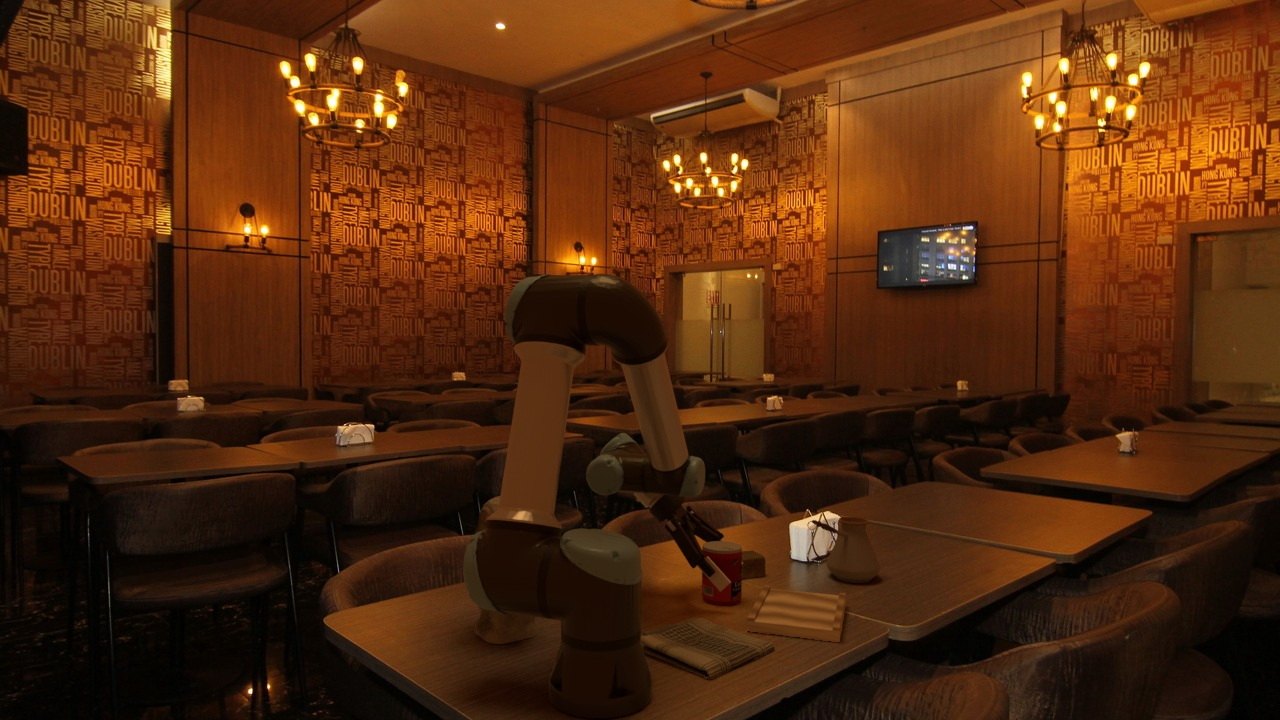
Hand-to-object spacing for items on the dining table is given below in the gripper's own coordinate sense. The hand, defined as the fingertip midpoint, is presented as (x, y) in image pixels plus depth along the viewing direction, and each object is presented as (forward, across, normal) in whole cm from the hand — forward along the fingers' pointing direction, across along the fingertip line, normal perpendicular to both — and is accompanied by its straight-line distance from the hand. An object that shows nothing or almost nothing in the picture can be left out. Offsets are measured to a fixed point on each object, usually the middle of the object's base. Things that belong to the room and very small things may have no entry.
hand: (732, 577), depth 157 cm
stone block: (+2, -18, -5) cm, 18 cm away
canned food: (+2, 0, -5) cm, 5 cm away
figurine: (-21, +30, -28) cm, 47 cm away
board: (+13, +6, +6) cm, 16 cm away
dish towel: (+4, +26, -4) cm, 27 cm away
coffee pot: (+18, -20, +10) cm, 28 cm away
